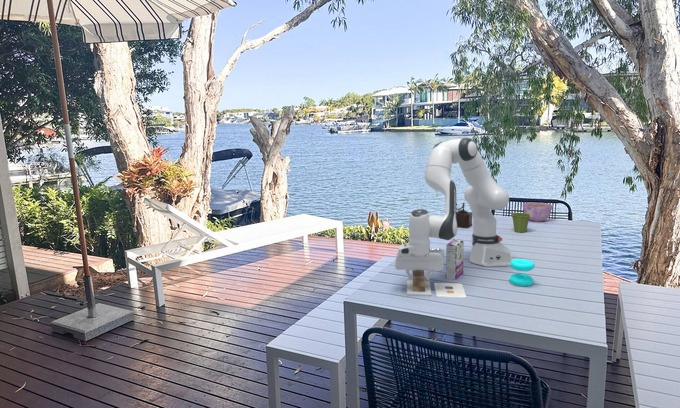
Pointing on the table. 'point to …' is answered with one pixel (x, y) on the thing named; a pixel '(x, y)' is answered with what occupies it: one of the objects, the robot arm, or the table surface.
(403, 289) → the table surface
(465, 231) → the table surface
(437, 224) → the robot arm
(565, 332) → the table surface
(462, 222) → the manual coffee grinder
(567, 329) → the table surface
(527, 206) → the bowl of food
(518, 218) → the plant pot
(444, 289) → the plate
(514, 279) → the donuts
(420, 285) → the walnut block
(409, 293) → the grey mat
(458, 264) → the candy bar box
